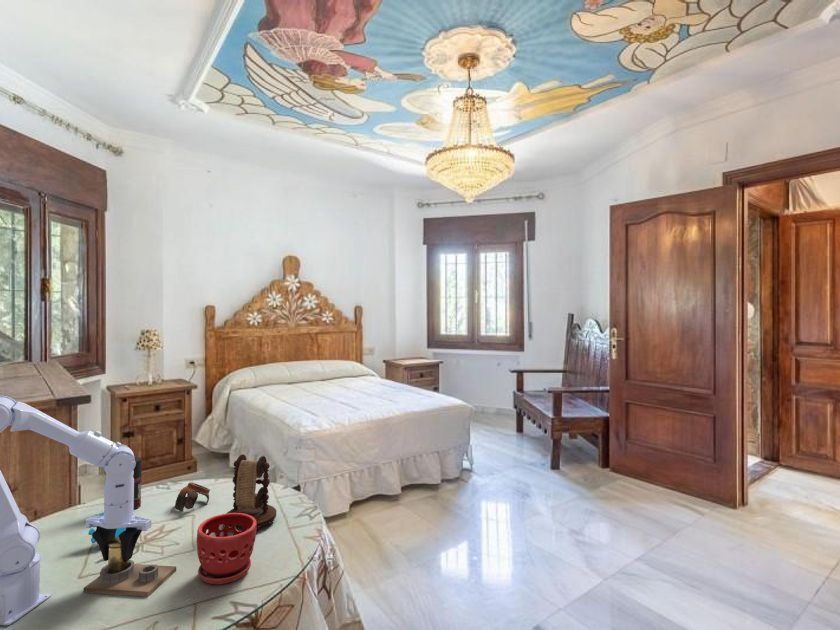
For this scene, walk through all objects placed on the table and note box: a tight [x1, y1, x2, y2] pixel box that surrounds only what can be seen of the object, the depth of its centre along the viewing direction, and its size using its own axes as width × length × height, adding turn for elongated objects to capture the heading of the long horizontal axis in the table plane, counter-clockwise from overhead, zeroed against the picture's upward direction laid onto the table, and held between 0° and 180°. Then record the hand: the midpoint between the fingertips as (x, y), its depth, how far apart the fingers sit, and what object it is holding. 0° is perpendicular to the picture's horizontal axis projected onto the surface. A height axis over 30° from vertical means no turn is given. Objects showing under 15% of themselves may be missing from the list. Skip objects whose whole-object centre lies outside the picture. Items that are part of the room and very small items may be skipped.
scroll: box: [225, 453, 277, 533], centre depth 133 cm, size 15×15×20 cm
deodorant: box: [133, 456, 143, 511], centre depth 142 cm, size 6×6×15 cm
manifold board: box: [83, 559, 177, 597], centre depth 103 cm, size 10×15×3 cm, turn 86°
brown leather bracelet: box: [174, 482, 211, 512], centre depth 144 cm, size 12×10×8 cm
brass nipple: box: [107, 537, 130, 571], centre depth 104 cm, size 4×4×6 cm
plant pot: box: [196, 512, 257, 585], centre depth 107 cm, size 13×13×12 cm
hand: (117, 559), depth 104 cm, fingers closed on brass nipple, 4 cm apart
